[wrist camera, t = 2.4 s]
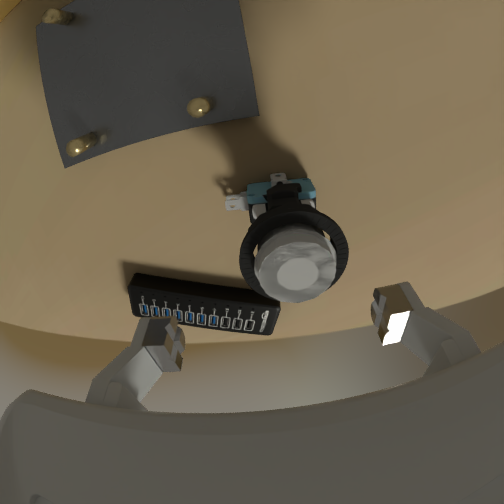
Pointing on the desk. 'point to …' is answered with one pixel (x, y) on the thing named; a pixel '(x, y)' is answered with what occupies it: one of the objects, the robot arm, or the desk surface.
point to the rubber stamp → (7, 7)
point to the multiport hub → (203, 304)
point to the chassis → (141, 71)
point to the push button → (288, 240)
